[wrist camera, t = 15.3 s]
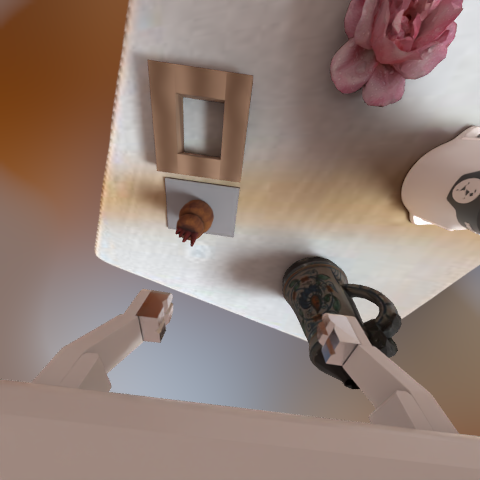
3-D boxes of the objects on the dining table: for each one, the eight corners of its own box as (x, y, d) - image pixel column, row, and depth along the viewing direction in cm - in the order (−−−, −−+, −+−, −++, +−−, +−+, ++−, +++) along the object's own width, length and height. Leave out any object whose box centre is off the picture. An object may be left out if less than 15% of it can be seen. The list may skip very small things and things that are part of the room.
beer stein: (273, 295, 56) (288, 398, 34) (297, 239, 46) (338, 332, 24) (326, 305, 57) (373, 412, 35) (360, 253, 47) (453, 354, 26)
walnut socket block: (252, 82, 32) (252, 75, 29) (240, 178, 40) (239, 182, 36) (158, 68, 32) (147, 59, 28) (165, 167, 40) (157, 170, 36)
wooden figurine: (221, 210, 43) (208, 243, 30) (206, 227, 45) (188, 264, 32) (196, 190, 41) (171, 216, 28) (182, 209, 43) (152, 241, 30)
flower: (394, 123, 31) (455, 87, 22) (310, 95, 32) (334, 48, 22) (442, 19, 28) (538, -76, 19) (349, -10, 29) (396, -119, 19)
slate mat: (239, 187, 41) (239, 188, 40) (233, 236, 47) (233, 237, 46) (165, 177, 41) (164, 178, 40) (169, 227, 46) (168, 228, 46)
